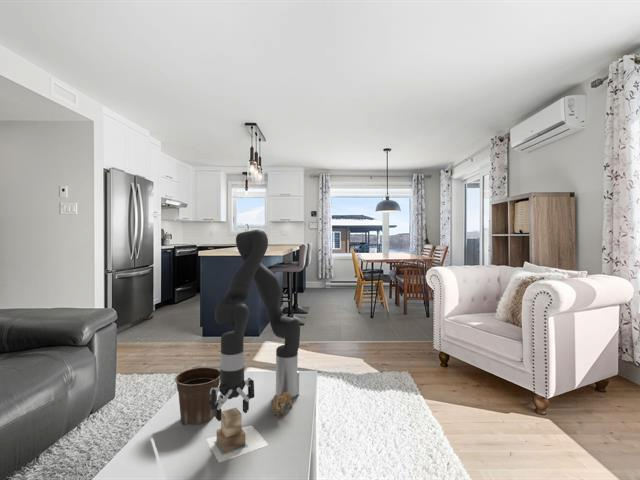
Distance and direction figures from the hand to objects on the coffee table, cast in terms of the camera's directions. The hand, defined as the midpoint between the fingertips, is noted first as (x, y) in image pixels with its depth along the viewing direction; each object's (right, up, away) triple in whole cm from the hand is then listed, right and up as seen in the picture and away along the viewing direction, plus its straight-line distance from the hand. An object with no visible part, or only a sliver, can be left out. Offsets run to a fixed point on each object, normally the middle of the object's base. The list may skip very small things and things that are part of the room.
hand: (232, 415), depth 110 cm
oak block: (0, -5, 0) cm, 5 cm away
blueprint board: (+1, -10, +1) cm, 10 cm away
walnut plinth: (0, -9, 0) cm, 9 cm away
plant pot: (-17, -10, +17) cm, 26 cm away
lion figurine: (+14, -10, +22) cm, 28 cm away
